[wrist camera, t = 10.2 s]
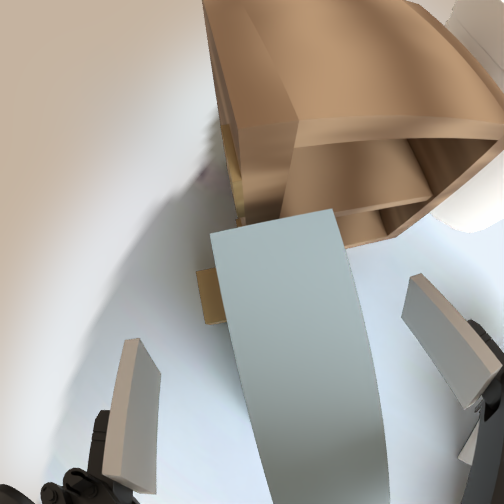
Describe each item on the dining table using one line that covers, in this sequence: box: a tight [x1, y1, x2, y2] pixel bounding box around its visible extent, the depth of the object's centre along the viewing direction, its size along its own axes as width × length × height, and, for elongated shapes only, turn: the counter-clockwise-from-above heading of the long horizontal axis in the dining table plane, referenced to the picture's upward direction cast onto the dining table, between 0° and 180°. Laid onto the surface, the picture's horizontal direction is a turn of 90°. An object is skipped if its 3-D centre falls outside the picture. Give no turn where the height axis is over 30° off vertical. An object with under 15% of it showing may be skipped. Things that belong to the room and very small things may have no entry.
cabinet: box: [196, 0, 504, 325], centre depth 15 cm, size 16×14×16 cm
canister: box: [429, 0, 504, 233], centre depth 15 cm, size 16×16×20 cm
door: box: [210, 209, 390, 504], centre depth 14 cm, size 4×12×13 cm, turn 12°
